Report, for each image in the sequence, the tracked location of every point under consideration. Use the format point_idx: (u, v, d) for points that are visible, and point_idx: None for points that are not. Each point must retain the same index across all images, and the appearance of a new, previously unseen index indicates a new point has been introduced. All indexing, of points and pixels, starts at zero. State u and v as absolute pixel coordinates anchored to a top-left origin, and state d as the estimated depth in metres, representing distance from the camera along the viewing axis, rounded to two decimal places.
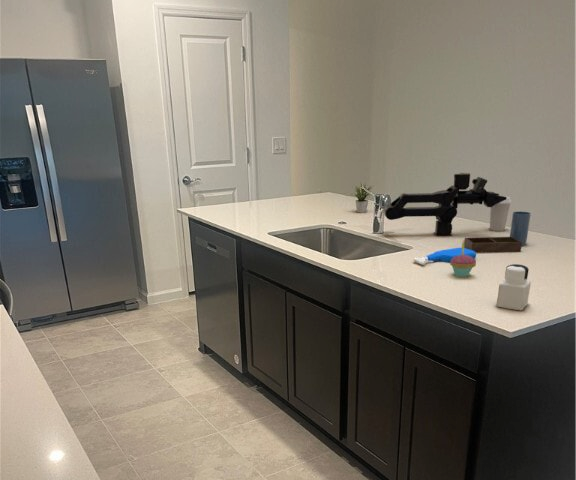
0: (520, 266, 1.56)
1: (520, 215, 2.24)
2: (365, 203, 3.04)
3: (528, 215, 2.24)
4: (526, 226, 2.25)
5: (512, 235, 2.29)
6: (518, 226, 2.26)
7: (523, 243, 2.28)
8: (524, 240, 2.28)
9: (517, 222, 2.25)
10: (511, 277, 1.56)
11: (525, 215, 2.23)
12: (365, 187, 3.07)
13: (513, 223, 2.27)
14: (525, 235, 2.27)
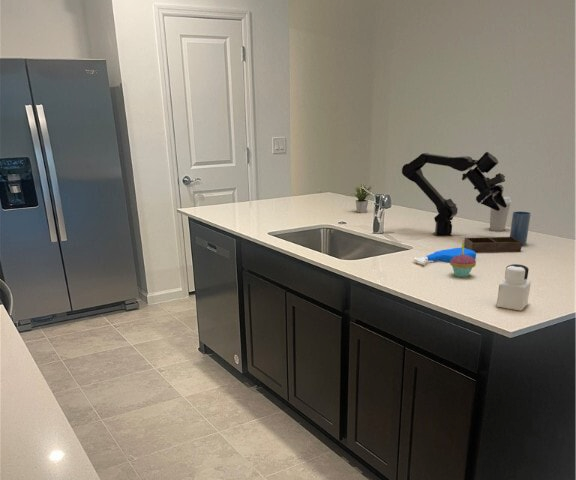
0: (520, 266, 1.56)
1: (520, 215, 2.24)
2: (365, 203, 3.04)
3: (528, 215, 2.24)
4: (526, 226, 2.25)
5: (512, 235, 2.29)
6: (518, 226, 2.26)
7: (523, 243, 2.28)
8: (524, 240, 2.28)
9: (517, 222, 2.25)
10: (511, 277, 1.56)
11: (525, 215, 2.23)
12: (365, 187, 3.07)
13: (513, 223, 2.27)
14: (525, 235, 2.27)
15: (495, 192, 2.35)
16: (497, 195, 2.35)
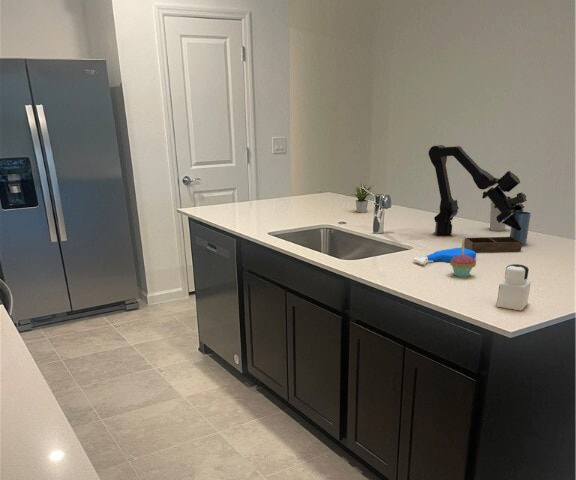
0: (520, 266, 1.56)
1: (520, 215, 2.24)
2: (365, 203, 3.04)
3: (528, 215, 2.24)
4: (526, 226, 2.25)
5: (512, 235, 2.29)
6: None
7: (523, 243, 2.28)
8: (524, 240, 2.28)
9: (517, 221, 2.25)
10: (511, 277, 1.56)
11: (525, 215, 2.23)
12: (365, 187, 3.07)
13: None
14: (525, 235, 2.27)
15: (515, 211, 2.32)
16: None
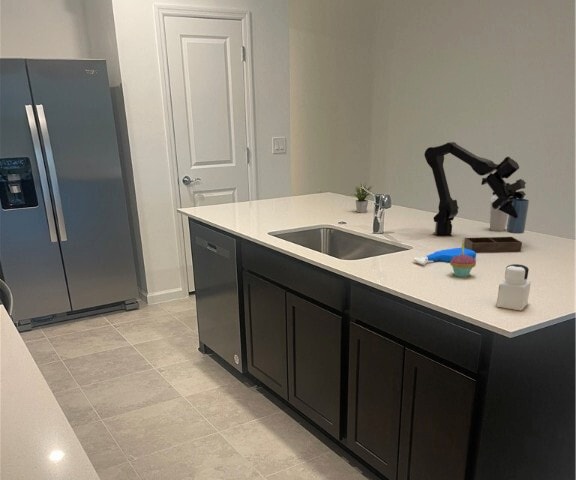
0: (520, 266, 1.56)
1: (517, 202, 2.19)
2: (365, 203, 3.04)
3: (526, 202, 2.18)
4: (523, 214, 2.20)
5: (509, 222, 2.24)
6: None
7: (520, 231, 2.23)
8: (521, 228, 2.22)
9: (514, 208, 2.20)
10: (511, 277, 1.56)
11: (522, 202, 2.18)
12: (365, 187, 3.07)
13: None
14: (522, 223, 2.22)
15: None
16: None
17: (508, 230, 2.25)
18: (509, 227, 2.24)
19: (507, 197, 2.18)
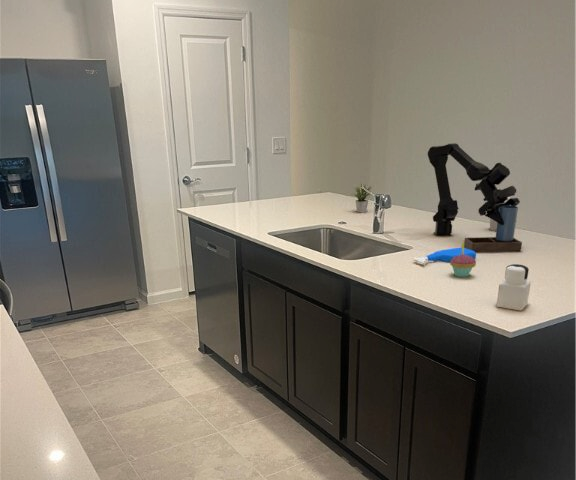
0: (520, 266, 1.56)
1: (504, 209, 2.15)
2: (365, 203, 3.04)
3: (513, 209, 2.15)
4: (510, 221, 2.16)
5: (497, 229, 2.21)
6: None
7: (507, 239, 2.19)
8: (508, 235, 2.19)
9: (501, 215, 2.17)
10: (511, 277, 1.56)
11: (509, 209, 2.15)
12: (365, 187, 3.07)
13: None
14: (510, 230, 2.18)
15: None
16: None
17: (496, 237, 2.22)
18: (497, 234, 2.21)
19: (493, 204, 2.15)
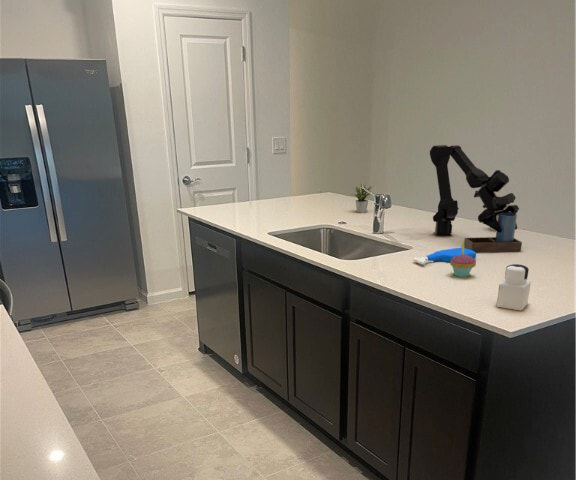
0: (520, 266, 1.56)
1: (503, 216, 2.17)
2: (365, 203, 3.04)
3: (512, 217, 2.16)
4: (509, 229, 2.17)
5: (496, 237, 2.22)
6: (501, 228, 2.19)
7: None
8: None
9: (500, 223, 2.18)
10: (511, 277, 1.56)
11: (508, 217, 2.16)
12: (365, 187, 3.07)
13: None
14: (509, 238, 2.19)
15: (508, 212, 2.24)
16: None
17: None
18: (496, 241, 2.22)
19: (492, 211, 2.16)
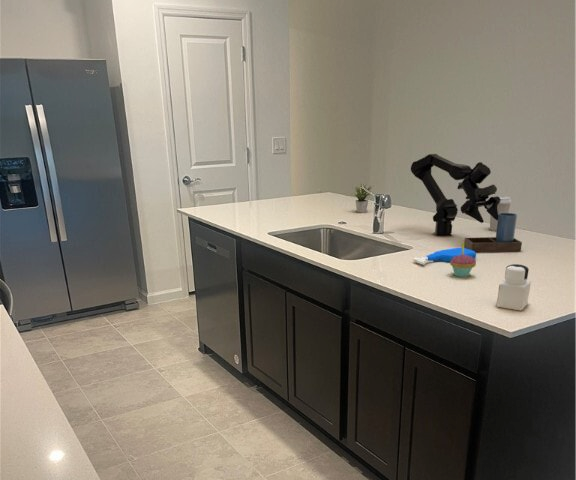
0: (520, 266, 1.56)
1: (503, 216, 2.17)
2: (365, 203, 3.04)
3: (512, 217, 2.16)
4: (509, 229, 2.17)
5: (496, 237, 2.22)
6: (501, 228, 2.19)
7: None
8: None
9: (500, 223, 2.18)
10: (511, 277, 1.56)
11: (508, 217, 2.16)
12: (365, 187, 3.07)
13: (497, 224, 2.20)
14: (509, 238, 2.19)
15: (490, 204, 2.31)
16: (491, 207, 2.30)
17: None
18: (496, 241, 2.22)
19: (474, 202, 2.23)
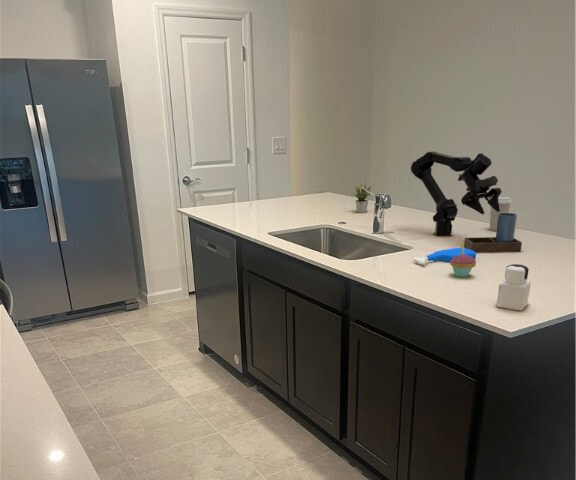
0: (520, 266, 1.56)
1: (503, 216, 2.17)
2: (365, 203, 3.04)
3: (512, 217, 2.16)
4: (509, 229, 2.17)
5: (496, 237, 2.22)
6: (501, 228, 2.19)
7: None
8: None
9: (500, 223, 2.18)
10: (511, 277, 1.56)
11: (508, 217, 2.16)
12: (365, 187, 3.07)
13: (497, 224, 2.20)
14: (509, 238, 2.19)
15: (491, 195, 2.29)
16: (492, 198, 2.29)
17: None
18: (496, 241, 2.22)
19: (475, 193, 2.22)
